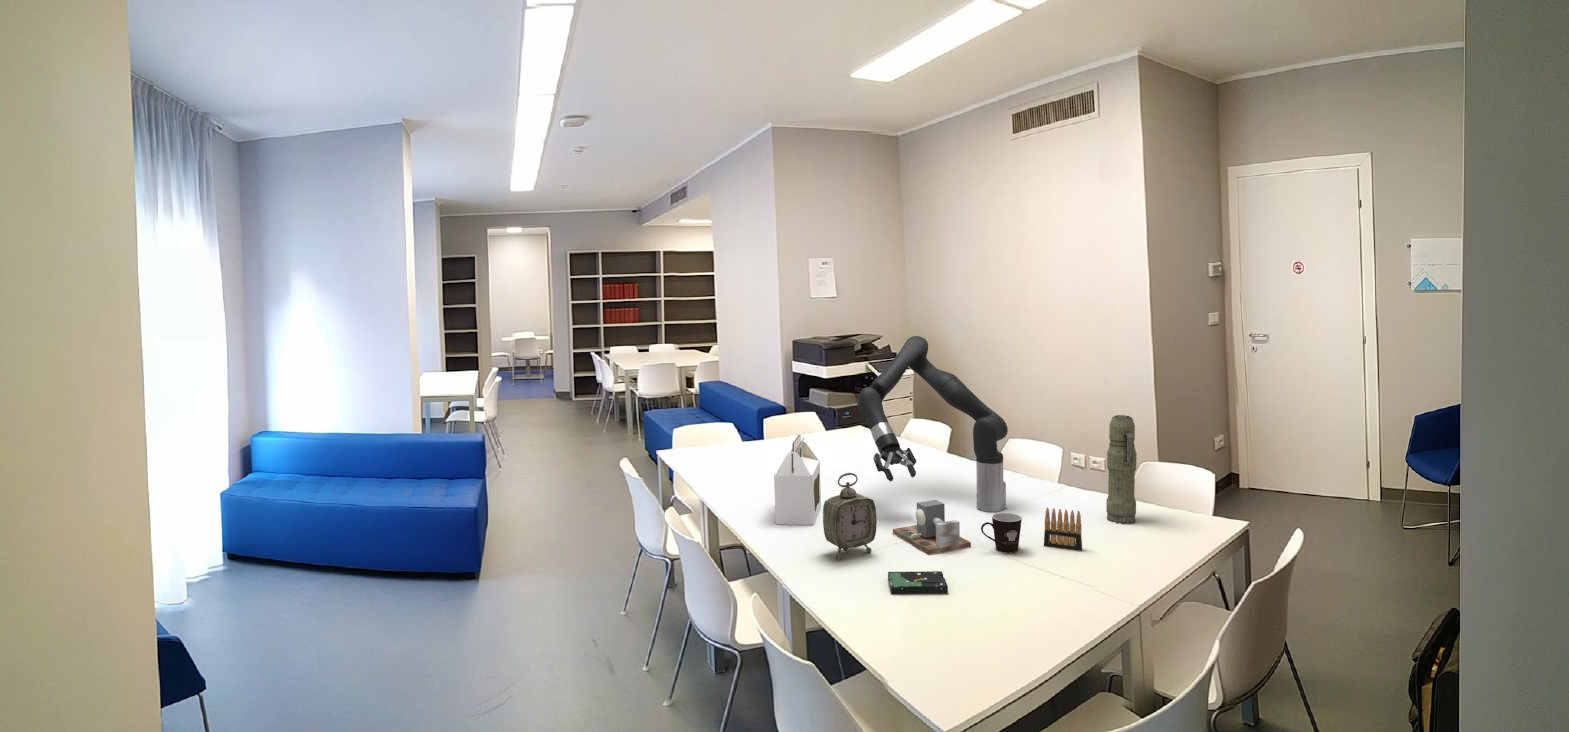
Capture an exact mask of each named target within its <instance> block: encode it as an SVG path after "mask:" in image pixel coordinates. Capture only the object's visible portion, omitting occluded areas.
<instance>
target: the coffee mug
mask: <svg viewBox="0 0 1569 732" xmlns="http://www.w3.org/2000/svg"><path fill="white" fill-rule="evenodd" d="M1022 519H1023V517H1022V516H1021V515H1020V514H1016V513H1012V512H998V513H994V514H992V515H991V520H992V522H990V521H989V522H988V521H987V522H986V521H985V522H983V523H982V525H981V527H980V530H981V531H980V532H981V533H982V534H983V535H984V536H985V537H987V538H988V539H990V540H991V541H993V542H994V543H995V550H996V551H997V552H999V553H1004V554H1015V553H1017V552H1019V547H1020V536H1021V530H1022V529H1021V528H1022ZM986 525H990V526H991V527H992V529H993V534H994V535H993V536H994V538H993V537H991V536H989V534H986V533H985V531H984V527H985V526H986Z"/></svg>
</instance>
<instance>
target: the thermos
mask: <svg viewBox="0 0 1569 732" xmlns="http://www.w3.org/2000/svg"><path fill="white" fill-rule="evenodd" d="M1135 427H1136V424H1135V421H1134V418H1133V417H1131V416H1130V415H1125V414H1122V415H1121V414H1119V415H1114V416H1112V417H1111V419H1110V422H1109V429H1108V431H1109V433H1108V434H1109V437H1108V438H1109V443H1108V444H1109V445H1108V449H1107V452H1106V457H1107V458H1106V468H1107V470H1108V482H1107V483H1108V486H1107V487H1108V490H1107V491H1108V492H1107V494H1108V496H1107V498H1106V510H1105V511H1106V520H1107V521H1108V522H1110V521H1111V523H1113V522H1116V523H1115V524H1118V523H1121V524H1120V525H1131V523H1132V524H1134V522H1135V523H1136V515H1137V500H1136V497H1135V483H1136V481H1135V479H1136V478H1135V477H1136V470H1137V456H1138V455H1137V451H1136V447H1135V446H1136V445H1135V439H1136V437H1135V435H1136V433H1135V431H1136V430H1135V429H1136V428H1135Z"/></svg>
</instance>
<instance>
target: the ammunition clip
mask: <svg viewBox="0 0 1569 732" xmlns="http://www.w3.org/2000/svg"><path fill="white" fill-rule="evenodd" d="M1068 512H1069V511H1068V510H1067V509H1065V510H1064V513H1062V509H1061V508H1059V509H1058V513H1057V515H1056V510H1055V507H1053V508H1052V510H1051V517H1050V509H1049V507H1046V509H1045V516H1044V533H1043V534H1044V535H1043V536H1044V537H1043V547H1044V548H1045V547H1047V548H1055V549H1062V550H1070V551H1077V552H1081V551H1082V550H1083V540H1082V539H1083V537H1082V532H1083V531H1082V528H1083V527H1082V520H1081V518H1082V517H1081V513H1080V510H1077V513H1076V520H1075V512H1074V510H1073V509H1072V510H1071V511H1070V518H1069V513H1068ZM1056 516H1057V517H1056ZM1050 518H1051V519H1050Z"/></svg>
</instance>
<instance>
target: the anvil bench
mask: <svg viewBox="0 0 1569 732" xmlns="http://www.w3.org/2000/svg"><path fill="white" fill-rule="evenodd" d="M960 530H961V529H960V521H958V520H956V519H954V520H953V519H952V520H947V521H946V520H945V522H940V523H936V536H935V537H930V538H924V537H923V536H921V535H920V536H915V537H911V535H913V534H917V524H914V525H908V526H902V527H898V528H896V527H895V528H892V534H893V535H895V536H897V537H898V538H900V539H901V540H903V541H904V542H906V543H908V544H910V545H911V546H913V547H915V548H916V549H918V550H920V551H921V552H923V553H925V554H927V555H928V556H929V555H935V554H940V553H945V552H951V551H956V550H961V549H967V548H971V547H972V542H971V541H969V540H968V539H965V538H964V537H962V536H961V534H960Z"/></svg>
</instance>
